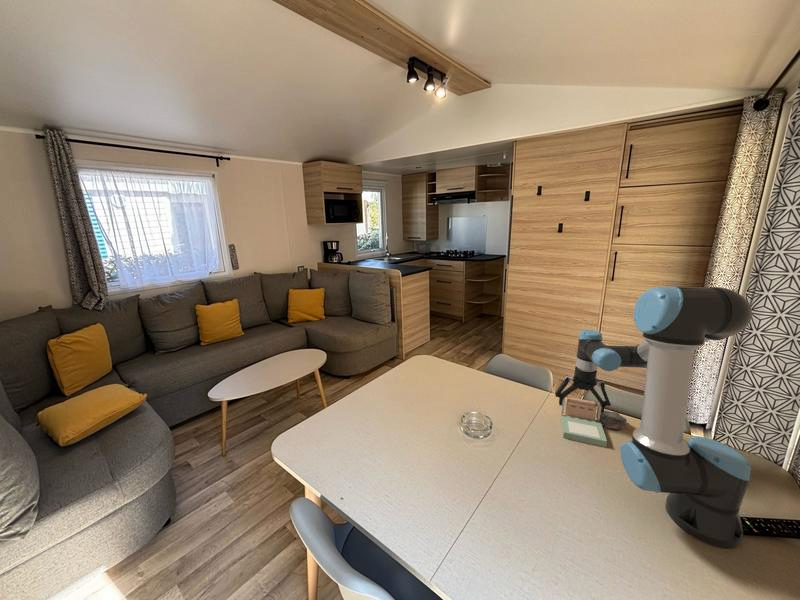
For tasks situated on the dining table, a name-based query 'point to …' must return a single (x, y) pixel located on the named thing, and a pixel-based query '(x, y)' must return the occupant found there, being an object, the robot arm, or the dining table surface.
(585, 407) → the pinkish brown box
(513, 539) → the dining table surface
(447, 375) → the dining table surface
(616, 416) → the rock
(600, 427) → the green picture frame
